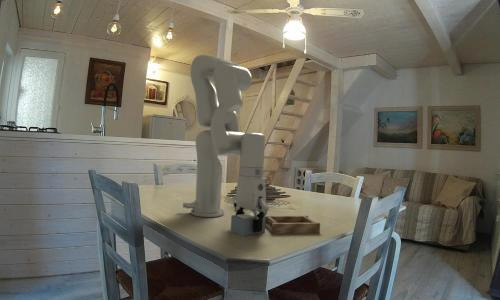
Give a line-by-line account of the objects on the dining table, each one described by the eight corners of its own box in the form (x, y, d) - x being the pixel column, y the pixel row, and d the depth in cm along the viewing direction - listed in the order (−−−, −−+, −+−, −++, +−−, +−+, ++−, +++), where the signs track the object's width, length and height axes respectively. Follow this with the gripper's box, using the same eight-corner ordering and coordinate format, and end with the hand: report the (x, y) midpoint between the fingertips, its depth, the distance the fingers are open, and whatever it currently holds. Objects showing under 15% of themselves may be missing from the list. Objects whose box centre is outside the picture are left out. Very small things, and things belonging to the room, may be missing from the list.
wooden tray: (272, 233, 91) (272, 224, 91) (263, 224, 101) (263, 215, 101) (319, 232, 95) (320, 223, 95) (306, 224, 104) (307, 215, 104)
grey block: (242, 236, 87) (243, 219, 87) (230, 231, 92) (231, 214, 91) (264, 232, 93) (265, 215, 93) (252, 227, 97) (253, 211, 97)
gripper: (279, 175, 87) (276, 233, 88) (243, 169, 101) (241, 220, 101) (260, 176, 83) (256, 237, 83) (225, 169, 96) (222, 222, 97)
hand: (248, 227), depth 92 cm, fingers open, 8 cm apart
